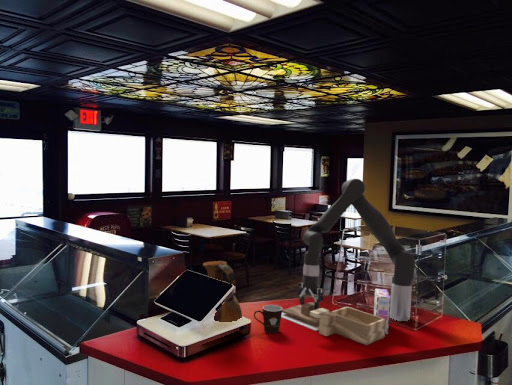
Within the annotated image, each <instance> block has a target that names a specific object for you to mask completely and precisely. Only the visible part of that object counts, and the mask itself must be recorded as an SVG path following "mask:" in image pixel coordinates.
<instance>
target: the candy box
mask: <svg viewBox="0 0 512 385" xmlns="http://www.w3.org/2000/svg"><path fill="white" fill-rule="evenodd" d="M390 303H391V295H390V293H389V291H388V289H386V288H385V289H384V288H375V289H374V302H373V315H375V316H378V317H382V318H385V319H386V327H385V335H388V334H389V325H390Z"/></svg>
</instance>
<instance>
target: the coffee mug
mask: <svg viewBox="0 0 512 385" xmlns="http://www.w3.org/2000/svg"><path fill="white" fill-rule="evenodd" d="M282 310H283V307H282V306H280V305H278V304H266V305H263V306H262V311H261V310H256V311H254V313H253V317H254V319H255V321H257V322H258V323H260V324H262V325H263V331H264V332H265V333H267V334H278V333H279V332H280V327H281V326H280V325H281V320H282V318H281V315H282ZM257 313H260V314H261V315H262V316H263V318H262V319H263V322H262V321H261V320H260V319H258V318H257V317H256V314H257ZM277 332H278V333H277Z"/></svg>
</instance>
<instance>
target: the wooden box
mask: <svg viewBox="0 0 512 385" xmlns="http://www.w3.org/2000/svg"><path fill="white" fill-rule="evenodd" d="M385 327H386V319H385V318H382V317H378V316H375V315H374V314H372V313H368V312H365V311H362V310H360V309H356V308H353V307H351V306H350V307H349V306H344V307H341V308H338V309H335V310H332V311H329V314H328V315H324V316H321V317H320V322H319V330H318V334H320V335H322V336H324V337H328V336H330V335H333V334H336V335H338V336H341V337H343V338H347V339H349V340H352V341H355V342H357V343H359V344H363V345H365V346H368V345H370V344H372V343H375V342H377V341H380V340H382V339H384V338H385V337H386V334H385Z"/></svg>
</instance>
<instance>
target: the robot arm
mask: <svg viewBox="0 0 512 385" xmlns="http://www.w3.org/2000/svg"><path fill="white" fill-rule="evenodd" d="M365 190H366V186H365V183H364V181H363V180H361V179H360V178H352V179H348V180H345V181H344V182H343V183H342V185H341V193H342V194H341V195H340V197H339V198H338V199H337V200H336V201H335V202H334V203H333V204H332V205H331V206H330V207H329V208H328V209H327V210H326V211H325V212H324V213H323V214H322V215H320V218H319V219H318V220H317V221H316V222H315V223H314V224H312V225H311V226H310V227H309V228H308V229H307V230H305V232H304V234H303V236H302V239H303V240H302V241H303V242H304V244H305V245H306V246H308V249H307V250H306V251H305V253H304V255H303V256H304V259H303V267H302V281H301V282H297V289H296V295H297V296H299V305H303V304H306V302H305V301H306V300H305V299H306V298H305V296H306V295H309V296H311V297H312V299H313V300H314V303H315V304H314V310H316V309H319V308H320V303H321V302H324V288H323V287H321V288H319V287H318V286H319V284H320V283H319V282H320V254H321V253H322V252H321V251H322V249H323V244H324V239H323V236H322V235H323V234H324V233H325V234H326V233H328V232H329V231H330V230H331V229H332V228H333V227H334V226H335V224H336V223H337V222H338V220H339V219H340V218H341V217H342V216H343V214H344V213H345V212H346V211H347V210H348V208H350V207H351V206H353V208H354V209H355V210H356V212H357V213H358V216H360V218H361V219H362V221H363V223H364V224H365V225H366V227H367V228H368V230H369V232H371V233H372V235H373V237H375V239H376V240H377V241H378V242H379V243H380V245H381V246H382V247H383V248H384V249H385V252H386V253H387V254H388V256H389V259H390V260H391V262H392V264H393V266H394V273H393V276H391V286H390V287H391V290H390V312H389V319H391V318H392V319H391V320H393V319H394V320H393V321H396V320H397V321H396V322H401V321H406V322H409V321H410V318H411V307H412V288H413V287H412V286H413V281H414V278H415V266H416V260H415V257H414V256H413V254H412V253H411V252H409V251H407V250H406V249H405V248H404V246H403V245H402V244H401V243H400V242H399V241H398V239H397V238H396V235H395V233H394V231H393V229H392V227H391V225H390V223H389V222H388V220H387V219H386V218H385V215H383V213H382V212H381V211H380V210H378V209H377V208H376V207H375V206H374V205H372V204H371V203H370V202H369V201H368V199H366V197H365V195H364V193H365ZM408 320H409V321H408Z"/></svg>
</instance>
